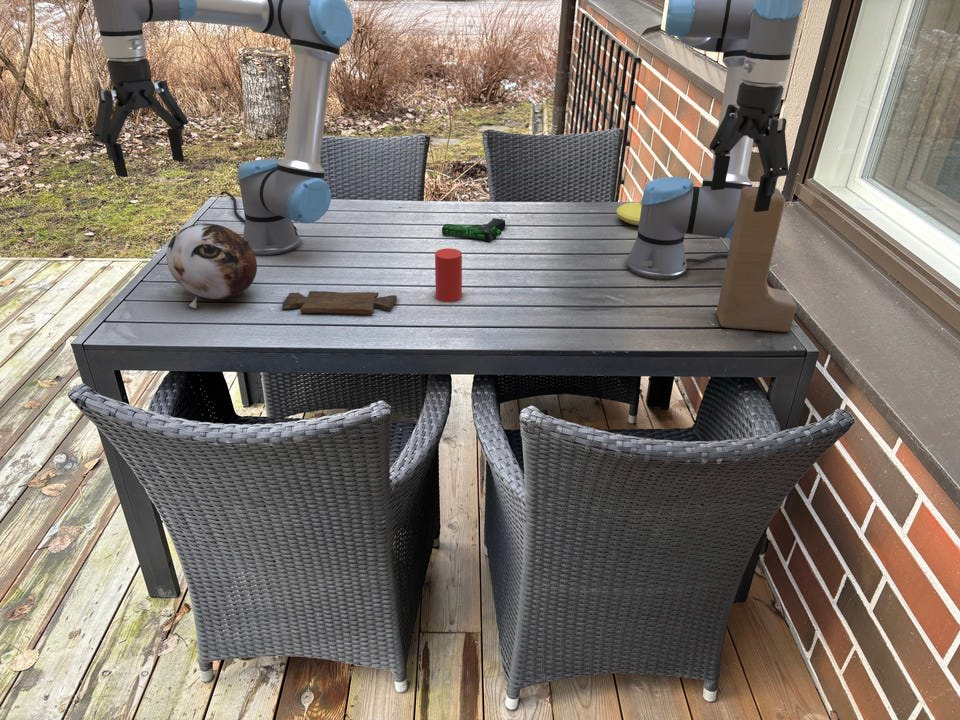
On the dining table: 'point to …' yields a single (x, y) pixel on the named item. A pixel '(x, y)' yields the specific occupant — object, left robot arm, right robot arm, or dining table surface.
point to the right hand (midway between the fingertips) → (738, 199)
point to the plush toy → (211, 261)
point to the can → (448, 274)
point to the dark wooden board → (338, 302)
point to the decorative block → (754, 270)
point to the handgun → (476, 230)
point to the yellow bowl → (630, 212)
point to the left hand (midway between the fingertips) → (151, 168)
